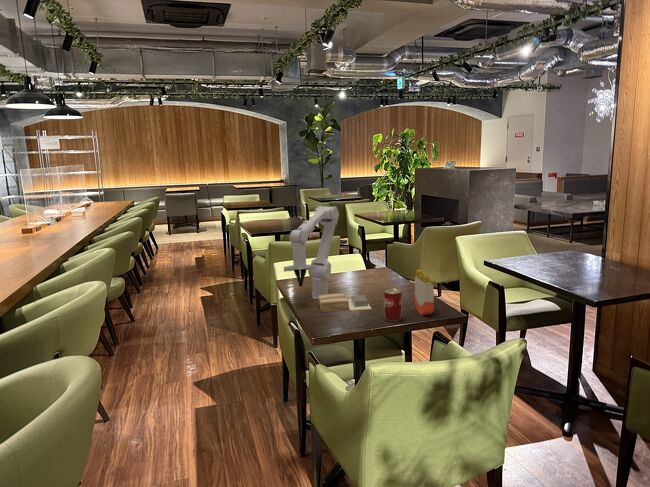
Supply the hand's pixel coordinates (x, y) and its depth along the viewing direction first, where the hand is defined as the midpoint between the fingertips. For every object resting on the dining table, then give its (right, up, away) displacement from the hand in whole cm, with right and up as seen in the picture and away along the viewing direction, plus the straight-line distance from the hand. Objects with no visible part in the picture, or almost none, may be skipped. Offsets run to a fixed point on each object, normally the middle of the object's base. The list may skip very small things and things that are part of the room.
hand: (300, 285), depth 221 cm
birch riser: (+15, -9, -1) cm, 17 cm away
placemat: (+26, -9, +1) cm, 27 cm away
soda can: (+39, -12, -20) cm, 45 cm away
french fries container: (+53, -10, -13) cm, 56 cm away
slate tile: (+27, -6, 0) cm, 27 cm away
